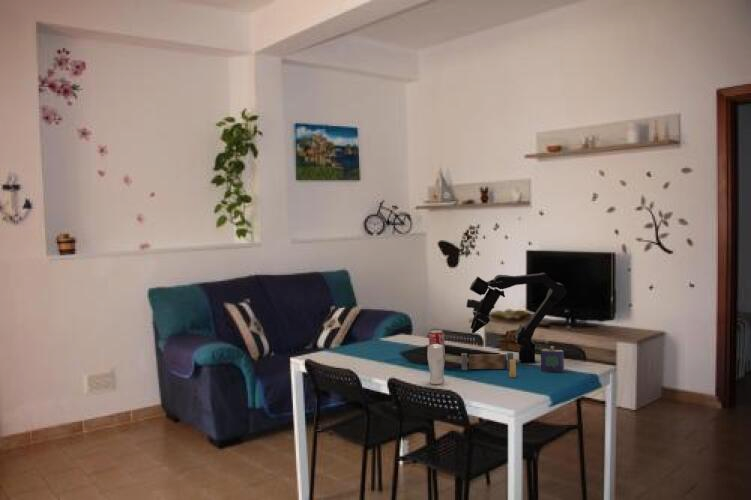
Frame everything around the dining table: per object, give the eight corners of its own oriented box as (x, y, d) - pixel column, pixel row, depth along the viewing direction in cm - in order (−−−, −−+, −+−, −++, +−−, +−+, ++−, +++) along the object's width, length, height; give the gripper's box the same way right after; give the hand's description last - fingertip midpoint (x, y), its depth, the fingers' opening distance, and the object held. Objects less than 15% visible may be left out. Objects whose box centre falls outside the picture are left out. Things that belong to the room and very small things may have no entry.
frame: (512, 368, 268) (512, 352, 268) (516, 377, 255) (516, 361, 254) (461, 368, 270) (461, 353, 270) (462, 377, 257) (462, 361, 257)
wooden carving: (497, 351, 296) (497, 331, 295) (497, 349, 301) (497, 328, 300) (533, 352, 292) (533, 331, 292) (533, 350, 297) (532, 329, 296)
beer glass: (427, 380, 256) (425, 344, 254) (443, 379, 256) (442, 343, 255) (429, 385, 249) (428, 348, 247) (447, 384, 249) (446, 347, 248)
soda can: (444, 354, 295) (443, 329, 294) (444, 358, 288) (444, 332, 287) (429, 354, 296) (428, 329, 295) (429, 358, 289) (428, 333, 288)
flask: (563, 370, 262) (563, 345, 261) (564, 372, 259) (563, 347, 258) (541, 370, 264) (540, 345, 263) (540, 372, 261) (540, 346, 260)
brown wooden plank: (506, 367, 268) (506, 354, 267) (507, 369, 266) (506, 355, 265) (469, 368, 270) (468, 354, 269) (469, 369, 267) (469, 356, 267)
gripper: (472, 288, 286) (455, 317, 288) (474, 294, 268) (456, 325, 270) (493, 300, 286) (476, 329, 288) (497, 307, 267) (479, 338, 269)
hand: (471, 330), depth 279 cm, fingers open, 9 cm apart
